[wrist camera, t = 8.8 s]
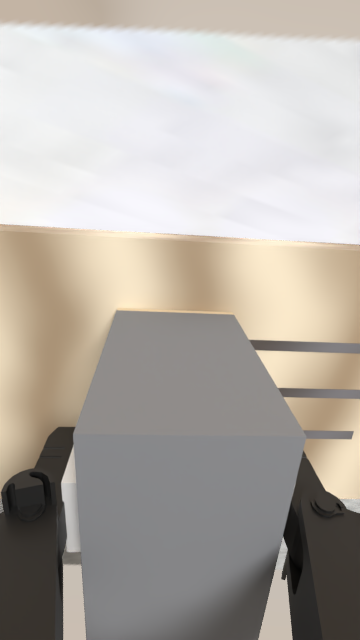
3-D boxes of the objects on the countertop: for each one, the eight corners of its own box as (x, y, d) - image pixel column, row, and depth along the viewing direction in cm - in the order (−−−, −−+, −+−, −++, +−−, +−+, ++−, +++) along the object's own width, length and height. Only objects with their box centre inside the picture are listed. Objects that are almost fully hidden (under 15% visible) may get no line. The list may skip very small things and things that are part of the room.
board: (-77, 469, 20) (-103, 499, 18) (-145, 215, 15) (-191, 220, 13) (386, 472, 22) (408, 499, 20) (466, 250, 17) (506, 258, 15)
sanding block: (215, 456, 18) (255, 650, 10) (118, 455, 17) (87, 656, 10) (232, 312, 15) (306, 436, 7) (117, 307, 14) (72, 434, 7)
